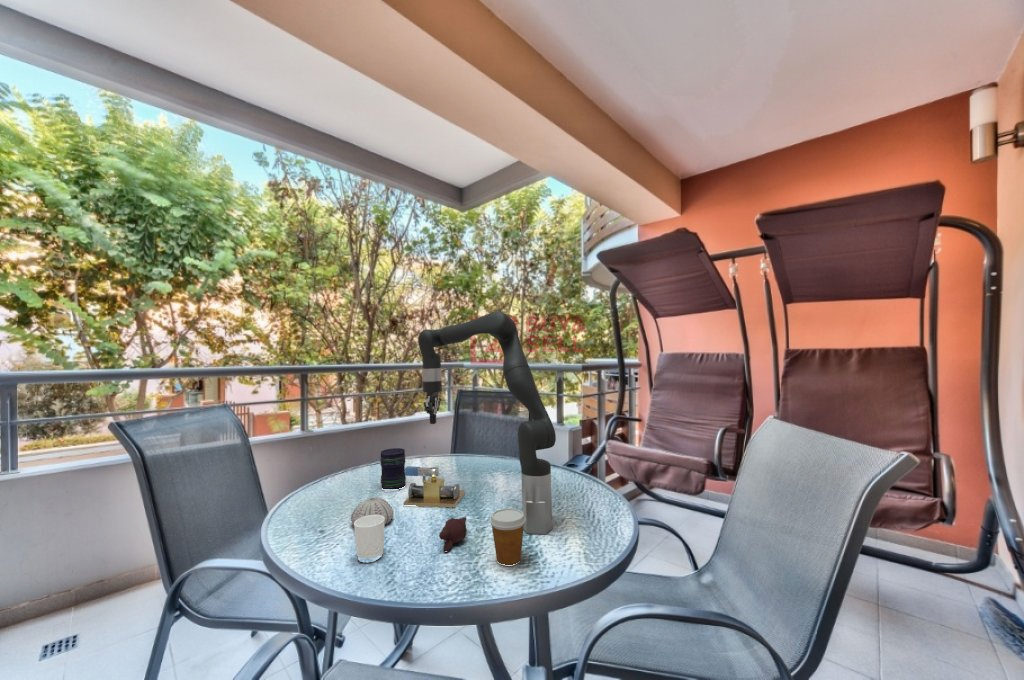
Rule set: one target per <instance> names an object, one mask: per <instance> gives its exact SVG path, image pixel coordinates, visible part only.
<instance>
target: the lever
mask: <svg viewBox="0 0 1024 680" xmlns="http://www.w3.org/2000/svg"><path fill="white" fill-rule="evenodd" d="M439 472H440V469H439V467H437V466H434V467H433V466H432V467H427V466H426V467H425V466H424V467H421V466H413V465H411V466H405V476H406V477H408V476H409V477H419V476H420V477H421V476H422V477H423V474H425V477H429V478H431V477H436V478H437V477H439V475H440V473H439Z"/></svg>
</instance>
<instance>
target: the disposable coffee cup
mask: <svg viewBox="0 0 1024 680" xmlns="http://www.w3.org/2000/svg"><path fill="white" fill-rule="evenodd" d="M525 521H526V519H525V517H524V514H523V512H522V510H520V509H517V508H510V507H509V508H500V509H496V510H495V511H493V512H492V513H491V516H490V518H489V522H490V525H491V528H492V529H491V530H492V537H493V542H494V543H493V544H494V550H495V557H496V562H497V561H498V562H499V563H501V564H505V565H513V564H516V563H518V562H519V561H520V560H521V559H522V551H523V550H522V547H523V538H524V529H523V528H524V524H525ZM521 561H522V560H521ZM521 561H520V562H521Z"/></svg>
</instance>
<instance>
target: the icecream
mask: <svg viewBox="0 0 1024 680" xmlns="http://www.w3.org/2000/svg"><path fill="white" fill-rule="evenodd" d="M466 522H467V517H466V516H463V517H460V518H454V517H451V518H450V519H448V520H446V522H445V523H444V526H443V527H442V529H441V530H440V533H439V535H438V536H439V539H440V540H443V541H445V544H444V546H443V552H444V551H448V552H450V551H451V549H452V546H453V544H458V543H459V542H461V541H462V540H463V539H465V538H466V536H467V531H468V530H467V524H466Z"/></svg>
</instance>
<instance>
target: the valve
mask: <svg viewBox="0 0 1024 680" xmlns="http://www.w3.org/2000/svg"><path fill="white" fill-rule="evenodd" d="M422 484H423V485H420V484H419V485H417V483H416V482H412V483H409V486H408V489H407V490H408V491H407V492H408V493H407V499H405V501H403V506H404V505H416V506H430V507H429V508H432V507H451V508H450V509H455V508H456V507H457V506H458V504H459V503H460V502H461V500H462V499H463V497H464V496H465V493H466V490H465V489H461V488H460V487H461V486H460V484H459V483H455V484H454V486H453V485H451V486H450V485H445V478H443V477H442V478H441V477H437V476H436V477H428V478H427V479H426V476H425V474H423V476H422ZM463 495H464V496H463ZM461 498H462V499H461ZM460 499H461V500H460ZM458 502H459V503H458ZM456 505H457V506H456ZM455 506H456V507H455ZM452 507H453V508H452Z"/></svg>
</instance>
